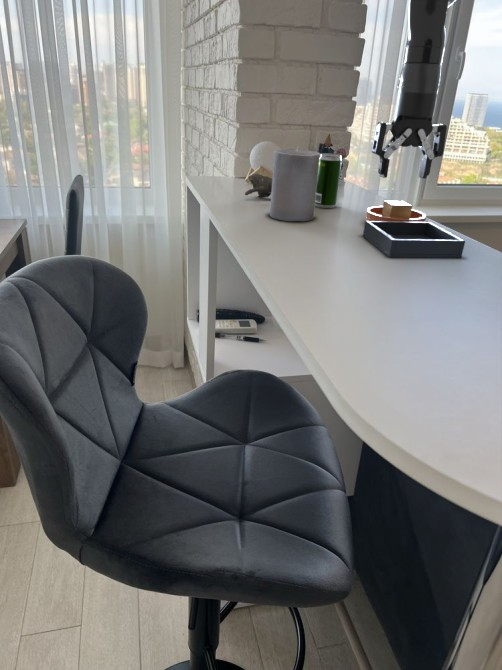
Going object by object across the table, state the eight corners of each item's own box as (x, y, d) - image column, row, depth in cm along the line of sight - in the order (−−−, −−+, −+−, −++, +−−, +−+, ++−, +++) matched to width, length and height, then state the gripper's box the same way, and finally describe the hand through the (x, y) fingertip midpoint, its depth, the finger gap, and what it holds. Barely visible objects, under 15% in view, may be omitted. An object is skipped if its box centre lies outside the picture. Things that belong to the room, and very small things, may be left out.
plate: (408, 220, 115) (410, 206, 114) (433, 234, 104) (436, 219, 103) (357, 219, 113) (359, 205, 112) (376, 233, 102) (379, 218, 101)
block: (399, 221, 111) (403, 201, 109) (408, 226, 107) (412, 205, 105) (380, 221, 110) (383, 200, 108) (388, 226, 106) (392, 205, 104)
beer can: (326, 209, 120) (332, 156, 115) (309, 205, 124) (314, 153, 119) (340, 207, 124) (346, 155, 119) (323, 202, 127) (328, 152, 122)
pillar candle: (283, 209, 118) (289, 141, 111) (321, 217, 113) (329, 146, 106) (261, 216, 110) (265, 143, 104) (299, 224, 106) (307, 149, 99)
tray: (427, 237, 102) (430, 221, 101) (461, 258, 90) (465, 240, 88) (362, 236, 100) (365, 220, 98) (389, 257, 88) (392, 240, 86)
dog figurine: (290, 197, 131) (292, 168, 128) (292, 202, 126) (295, 171, 123) (244, 195, 131) (245, 165, 127) (244, 200, 125) (245, 169, 122)
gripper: (389, 89, 93) (376, 180, 100) (461, 92, 95) (443, 181, 102) (375, 88, 100) (364, 174, 107) (443, 91, 101) (427, 175, 109)
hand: (403, 177), depth 104 cm, fingers open, 8 cm apart
